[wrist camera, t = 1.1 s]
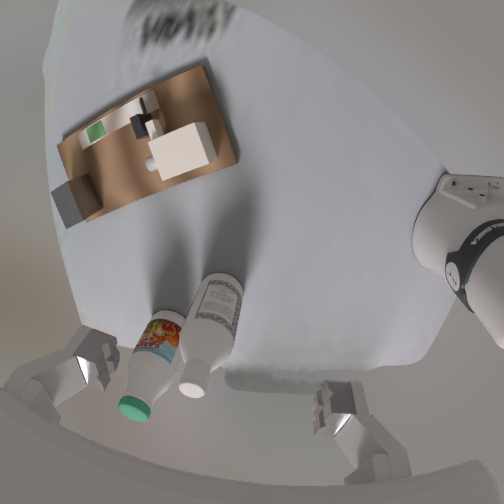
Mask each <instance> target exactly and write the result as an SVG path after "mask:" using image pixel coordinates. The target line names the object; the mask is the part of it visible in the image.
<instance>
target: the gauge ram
mask: <svg viewBox="0 0 504 504" xmlns="http://www.w3.org/2000/svg"><path fill="white" fill-rule="evenodd" d="M145 125H146V127H147V130H148V133H149V136H150V138H151V141H150V142H148V144H149V147H150V150H151V152H152V155H151V156H149V157H147V158H146V159H145V163H146V166H147V168H148V170H149V171H151V172H152V171H155V170H157V169H158V171H159V173H160V176H161V179H162V181H164V180H167V179H169V178H172V177H174V176H177V175H180V174H182V173H185V172H188V171H190V170H193V169H196V168H198V167H201V166H204V165H207V164H209V163H211V162H213V161H214V160H216V159H217V158H218V157H217V154H216V151H215V148H214V146H213V143H212V140H211V137H210V134H209V132H208V129H207V126H206V123H205V122H194V123H192V124H189V125H187V126H184V127H182V128H179V129H177V130H175V131H172V132H170V133H168V134H165V135H164V133H163V131H162V128H161V125H160V122H159V120H158V119H155V120H150V121H148V122H146V123H145Z"/></svg>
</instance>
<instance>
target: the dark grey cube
mask: <svg viewBox="0 0 504 504" xmlns="http://www.w3.org/2000/svg"><path fill="white" fill-rule="evenodd" d="M51 194H52V196H53V199H54V201H55V204H56V206H57V209H58V211H59V213H60V216H61V218H62V220H63V223H64V225H65V227H66V229H67V228H69V227H71V226H73V225H75V224H77V223H79V222H81V221H84V220H85V219H87V218H88V217H90V216H91V215H93V214H94V213H96V212H98V211H99V210H101V209H103V206H102V204H101V201H100V199H99V197H98V194H97V192H96V189H95V187H94V184H93V182H92V179H91V177H90V174H89V173H87V174H85V175H82V176H80V177H77V178H75V179H72V180H70V181H67V182H66V183H64V184H63V185H61V186H59V187H58V188H56V189H55V190H53V191H52V192H51Z"/></svg>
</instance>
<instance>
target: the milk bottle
mask: <svg viewBox="0 0 504 504" xmlns="http://www.w3.org/2000/svg"><path fill="white" fill-rule="evenodd" d="M184 321H185V318H184V317H183V316H182V315H180V314H178V313H176V312H174V311H170V310H162V311H159V312H157V313H155V314H154V315H153V317H152V318H151V320H150V322H149V323H148V325H147V327H146V329H145V331H144V332H143V334H142V336H141V338H140V340H139V342H138V343H137V345H136V347H135V349H134V351H133V353H132V355H131V357H130V360H129V363H128V367H127V390H126V393H124V394H123V396H122V398H121V400H120V402H119V405H118V408H119V410H120V411H121V412H122V413H123V414H124V415H126V416H127V417H129V418H131V419H133V420H136V421H141V422H143V421H147V420H148V419H149V416H150V413H151V410H152V404H153V402H154V401H155V400H156V399H157V398H158V397H159V396H160V395H162V394H163V393H164V392H165V391H166V390H167V389H168V388H169V386H170V385H171V384H172V382H173V380H174V378H175V375H176V373H177V370H178V368H179V365H180V362H181V360H182V355H181V352H180V348H179V337H180V332H181V329H182V326H183V324H184Z"/></svg>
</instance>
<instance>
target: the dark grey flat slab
mask: <svg viewBox="0 0 504 504" xmlns="http://www.w3.org/2000/svg"><path fill="white" fill-rule="evenodd" d="M139 103H140V106H141V109H142V111H143V114H136V115H134V116H132V117H131V118H129V119H130V121H131V124H132V127H133V130H134V133H135V136H136V138H137V140H138V139H143V138H149V137H150V136H149V133H148V130H147V127H146V125H145V123H146V122H148V121H150V120H153V119H152V116H151V114H146V112H145V109H144V106H143V103H142V100H140V101H139Z"/></svg>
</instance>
